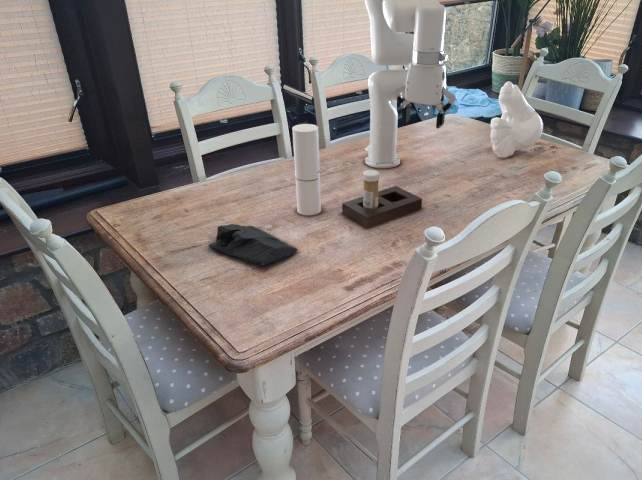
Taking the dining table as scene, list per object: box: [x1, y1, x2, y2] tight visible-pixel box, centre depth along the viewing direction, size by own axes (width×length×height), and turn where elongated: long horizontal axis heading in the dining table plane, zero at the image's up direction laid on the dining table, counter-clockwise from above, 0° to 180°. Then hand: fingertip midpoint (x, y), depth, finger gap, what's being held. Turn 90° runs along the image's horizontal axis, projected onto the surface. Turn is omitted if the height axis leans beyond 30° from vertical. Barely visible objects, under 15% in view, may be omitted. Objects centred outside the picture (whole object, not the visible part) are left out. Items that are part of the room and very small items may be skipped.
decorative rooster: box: [489, 80, 544, 159], centre depth 198 cm, size 25×16×25 cm
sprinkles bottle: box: [362, 169, 380, 211], centre depth 156 cm, size 5×5×13 cm
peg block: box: [341, 185, 423, 229], centre depth 161 cm, size 12×21×4 cm, turn 127°
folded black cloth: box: [208, 223, 299, 266], centre depth 141 cm, size 15×22×5 cm
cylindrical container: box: [291, 123, 322, 216], centre depth 156 cm, size 7×7×25 cm
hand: (422, 124), depth 147 cm, fingers open, 9 cm apart
